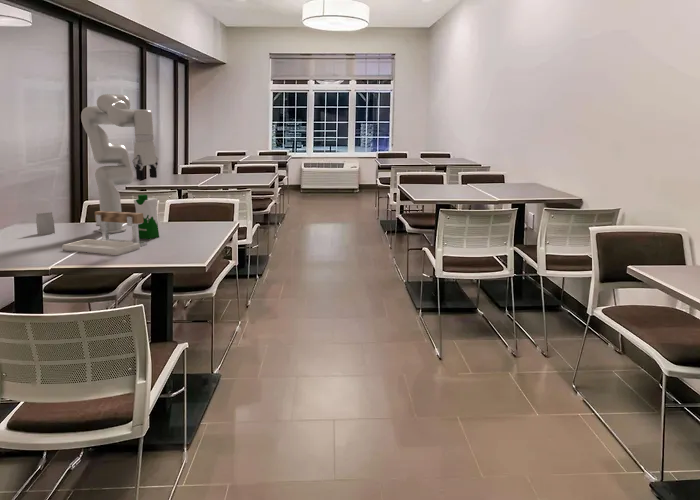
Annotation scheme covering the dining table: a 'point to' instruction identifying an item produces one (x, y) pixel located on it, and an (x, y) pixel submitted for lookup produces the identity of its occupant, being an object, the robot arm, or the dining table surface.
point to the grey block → (45, 223)
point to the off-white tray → (101, 246)
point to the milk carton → (147, 217)
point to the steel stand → (106, 238)
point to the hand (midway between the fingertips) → (146, 178)
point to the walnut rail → (120, 216)
